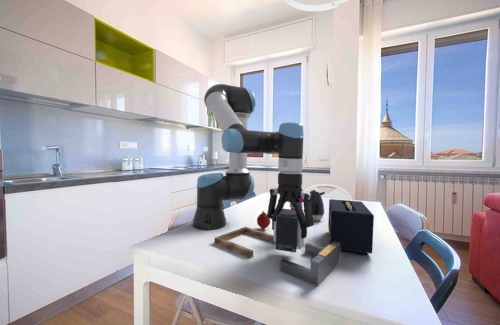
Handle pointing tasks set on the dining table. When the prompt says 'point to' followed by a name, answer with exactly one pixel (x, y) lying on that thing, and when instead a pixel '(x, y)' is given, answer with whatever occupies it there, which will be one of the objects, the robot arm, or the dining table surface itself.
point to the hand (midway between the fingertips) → (288, 243)
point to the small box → (287, 230)
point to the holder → (237, 248)
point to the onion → (263, 220)
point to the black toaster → (351, 225)
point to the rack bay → (314, 263)
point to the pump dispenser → (317, 205)
